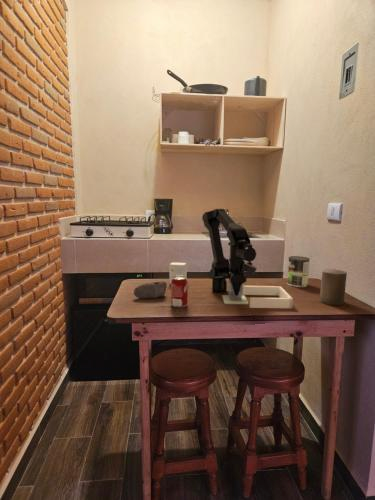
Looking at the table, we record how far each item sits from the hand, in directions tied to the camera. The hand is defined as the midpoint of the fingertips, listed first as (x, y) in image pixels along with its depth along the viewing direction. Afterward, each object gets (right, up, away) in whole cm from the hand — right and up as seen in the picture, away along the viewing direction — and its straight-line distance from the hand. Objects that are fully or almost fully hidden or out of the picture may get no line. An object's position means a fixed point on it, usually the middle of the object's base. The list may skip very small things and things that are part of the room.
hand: (235, 292), depth 136 cm
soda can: (-24, -5, -7) cm, 26 cm away
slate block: (0, -3, 0) cm, 3 cm away
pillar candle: (+42, -4, 0) cm, 42 cm away
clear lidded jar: (+36, 0, +27) cm, 45 cm away
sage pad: (0, -4, +1) cm, 4 cm away
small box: (-26, +1, +27) cm, 37 cm away
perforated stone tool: (-37, -3, +3) cm, 37 cm away
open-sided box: (+13, -4, 0) cm, 13 cm away
